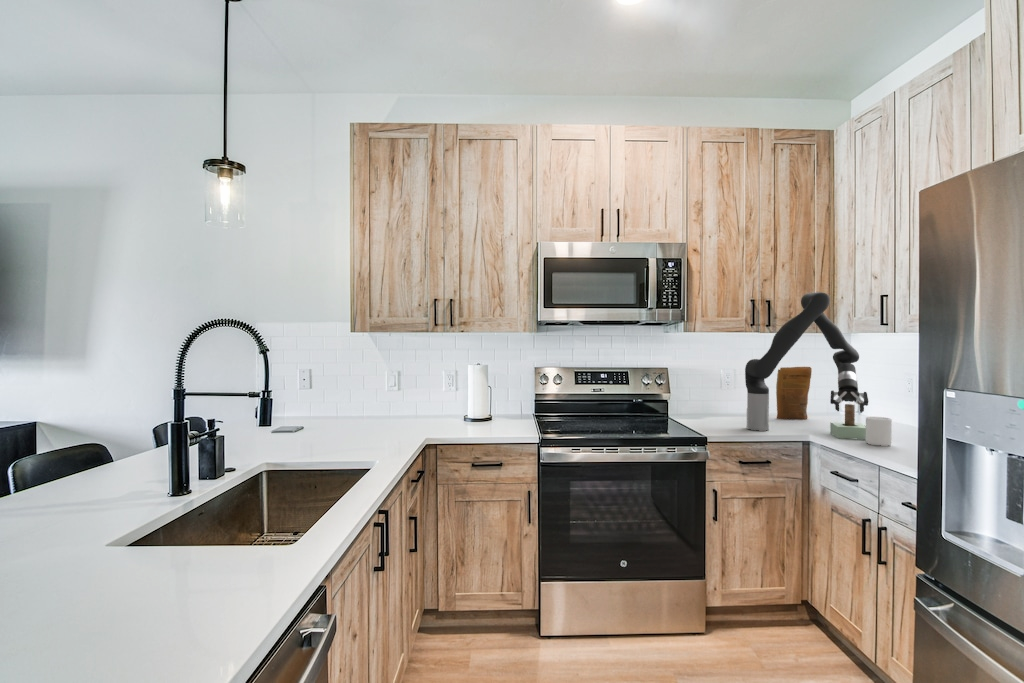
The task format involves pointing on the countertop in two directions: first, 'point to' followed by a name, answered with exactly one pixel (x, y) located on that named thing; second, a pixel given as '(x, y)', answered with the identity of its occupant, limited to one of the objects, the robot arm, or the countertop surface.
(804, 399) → the pancake mix bag
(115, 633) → the countertop surface
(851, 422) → the dowel
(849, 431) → the socket block
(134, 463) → the countertop surface
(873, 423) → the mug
